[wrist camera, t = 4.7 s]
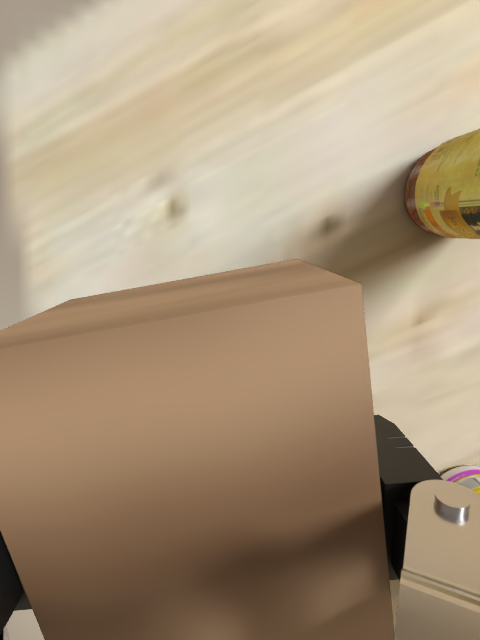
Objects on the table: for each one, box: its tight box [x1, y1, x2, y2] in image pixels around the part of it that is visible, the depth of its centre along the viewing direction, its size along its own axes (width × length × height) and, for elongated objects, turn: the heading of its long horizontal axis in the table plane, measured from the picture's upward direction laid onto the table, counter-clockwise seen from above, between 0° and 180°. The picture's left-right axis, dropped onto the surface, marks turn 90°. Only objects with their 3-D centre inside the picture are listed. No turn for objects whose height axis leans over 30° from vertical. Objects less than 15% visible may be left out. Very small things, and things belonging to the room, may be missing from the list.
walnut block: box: [0, 259, 394, 640], centre depth 9 cm, size 9×6×5 cm
